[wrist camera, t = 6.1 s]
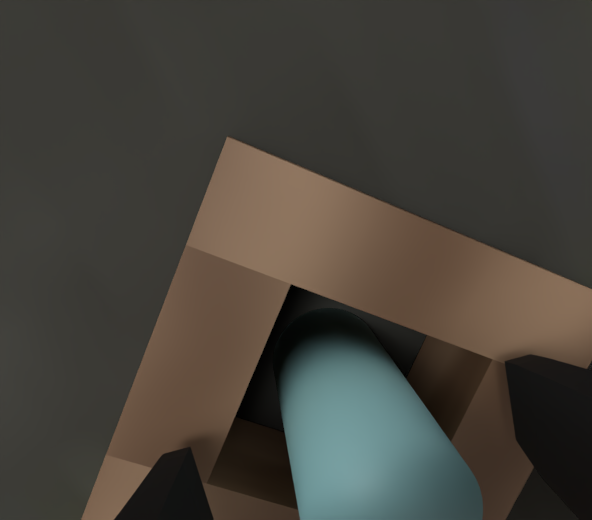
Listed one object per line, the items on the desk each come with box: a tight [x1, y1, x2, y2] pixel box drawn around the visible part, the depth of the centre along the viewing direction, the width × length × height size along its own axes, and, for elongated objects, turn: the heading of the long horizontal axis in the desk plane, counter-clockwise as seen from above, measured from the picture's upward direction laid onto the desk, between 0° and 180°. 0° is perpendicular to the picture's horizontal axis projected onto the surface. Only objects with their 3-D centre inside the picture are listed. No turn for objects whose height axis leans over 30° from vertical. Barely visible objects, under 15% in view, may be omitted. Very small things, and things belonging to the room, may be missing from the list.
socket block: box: [81, 136, 592, 520], centre depth 14 cm, size 10×10×4 cm
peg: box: [273, 308, 483, 520], centre depth 13 cm, size 3×3×7 cm
